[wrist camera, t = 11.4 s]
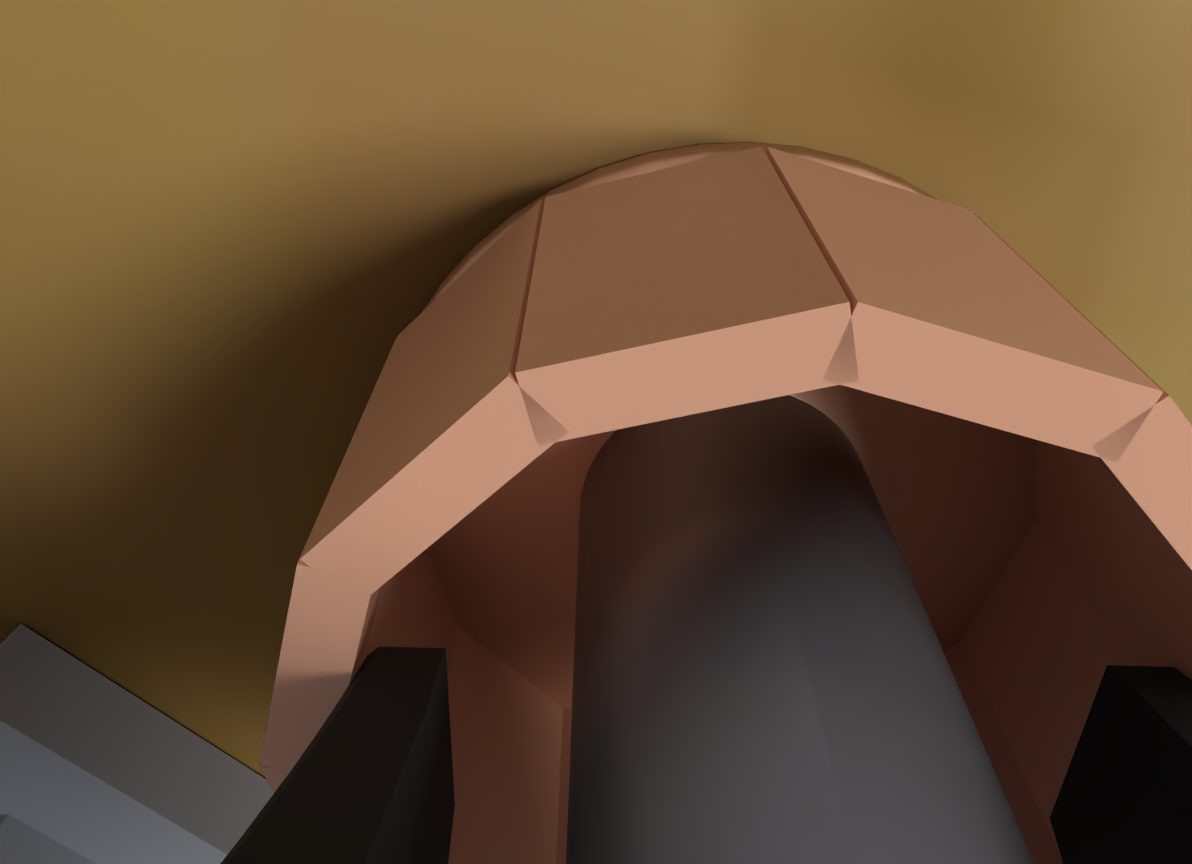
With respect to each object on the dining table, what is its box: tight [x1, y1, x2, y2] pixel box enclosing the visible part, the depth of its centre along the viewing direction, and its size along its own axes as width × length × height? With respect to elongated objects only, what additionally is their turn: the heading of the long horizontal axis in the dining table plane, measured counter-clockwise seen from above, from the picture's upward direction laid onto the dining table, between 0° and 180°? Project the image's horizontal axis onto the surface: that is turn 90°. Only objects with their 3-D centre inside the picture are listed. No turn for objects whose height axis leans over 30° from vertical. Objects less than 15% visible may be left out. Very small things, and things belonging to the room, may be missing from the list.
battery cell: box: [566, 395, 1035, 864], centre depth 9 cm, size 4×4×8 cm
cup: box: [259, 142, 1192, 864], centre depth 11 cm, size 9×9×5 cm
